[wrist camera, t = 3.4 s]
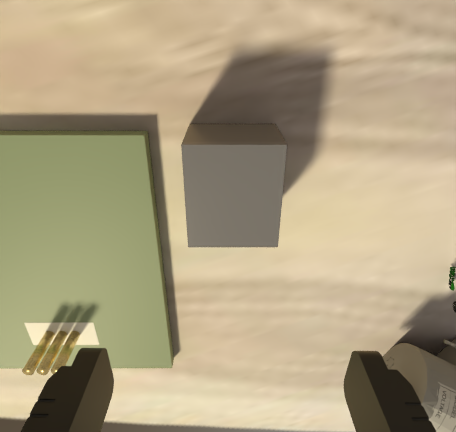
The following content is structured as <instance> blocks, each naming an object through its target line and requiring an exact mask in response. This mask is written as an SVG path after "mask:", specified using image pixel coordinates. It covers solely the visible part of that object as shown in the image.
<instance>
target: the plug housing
mask: <svg viewBox="0 0 456 432" xmlns="http://www.w3.org/2000/svg"><path fill="white" fill-rule="evenodd" d="M181 146H182V161H183V176H184V191H185V206H186V221H187V236H188V247H278V239H279V228H280V217H281V206H282V195H283V184H284V173H285V162H286V151H287V144H286V142H285V140H284V138H283V137H282V135H281V133H280V131H279V129H278V128H277V126H276V124H190V125H189V127H188V130H187V132H186V135H185V137H184V140H183V142H182V145H181Z"/></svg>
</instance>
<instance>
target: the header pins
mask: <svg viewBox="0 0 456 432" xmlns="http://www.w3.org/2000/svg"><path fill="white" fill-rule="evenodd" d="M54 336H55V334H54V332H52V331H46V332H45V334H44V335H43V337H42V339H41V340H40V342H39V343H38V345H37V347H36V348H35V350H34V352H33V353H32V355H31V357H30V358H29V360H28V362H27V363H26V365H25V367H24V368H23V370H22V372H23V373H24V374H26V375H32V374H33V373H34V371H35V369H36V368H37V366H38V364H39V362H40V361H41V359H42V357H43V355H44V354H45V352H46V350H47V348H48V347H49V345H50V343H51V341H52V340H53V338H54ZM66 337H67V333H66V332H65V331H59V332H58V333H57V335H56V337H55V338H54V340H53V342H52V344H51V346H50V347H49V349H48V351H47V353H46V354H45V356H44V358H43V360H42V362H41V363H40V365H39V367H38V369H37V373H39V374H41V375H46V374H47V373H48V371H49V369H50V368H51V366H52V364H53V362H54V360H55V358H56V356H57V354H58V352H59V350H60V349H61V347H62V345H63V343H64V341H65V339H66ZM79 337H80V333H79V332H78V331H71V333H70V335H69V336H68V338H67V340H66V342H65V344H64V346H63V348H62V350H61V352H60V354H59V356H58V358H57V359H56V361H55V363H54V365H53V367H52V369H51V372H52V373H53V374H54V373H55V372H56V371H57V370H58V369H59V368H60V367H61V366H65V365H66V363H67V361H68V359H69V357H70V355H71V353H72V351H73V349H74V347H75V345H76V343H77V341H78V339H79Z"/></svg>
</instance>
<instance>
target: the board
mask: <svg viewBox="0 0 456 432" xmlns="http://www.w3.org/2000/svg"><path fill="white" fill-rule="evenodd" d="M46 331H52V332H54V334H55V336H54V338H55V337H56V335H57V333H58V332H59V331H65V332H66V333H67V337H66V339H65V341H64V343H63V345H62V347H61V349H60V350H59V352H58V354H57V356H56V358H55V360H54V362H53V364H52V366H51V368H52V367H53V365H54V363H55V361H56V359H57V358H58V356H59V354H60V352H61V350H62V348H63V346H64V344H65V342H66V340H67V338H68V336H69V335H70V333H71V331H78V332H79V333H80V337H79V339H78V341H77V343H76V345H75V347H74V349H73V351H72V353H71V355H70V357H69V359H68V361H67V363H66V365H65V366H72V363H73V361H74V359H75V357H76V355H77V353H78V351H79V350H80V349H81V348H106V349H107V352H108V356H109V360H110V365H111V368H172V366H173V359H174V356H173V347H172V338H171V330H170V321H169V312H168V303H167V295H166V286H165V277H164V268H163V260H162V251H161V242H160V233H159V225H158V216H157V207H156V199H155V190H154V181H153V172H152V164H151V155H150V146H149V137H148V131H0V368H24V367H25V365H26V363H27V362H28V360H29V358H30V357H31V355H32V353H33V352H34V350H35V348H36V347H37V345H38V343H39V342H40V340H41V339H42V337H43V335H44V334H45V332H46ZM54 338H53V340H54ZM53 340H52V341H51V343H50V345H49V347H50V346H51V344H52V342H53ZM49 347H48V348H47V350H46V352H45V354H46V353H47V351H48V349H49ZM45 354H44V355H43V357H42V359H41V361H40V362H39V364H38V366H37V368H38V367H39V365H40V363H41V362H42V360H43V358H44V356H45Z"/></svg>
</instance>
